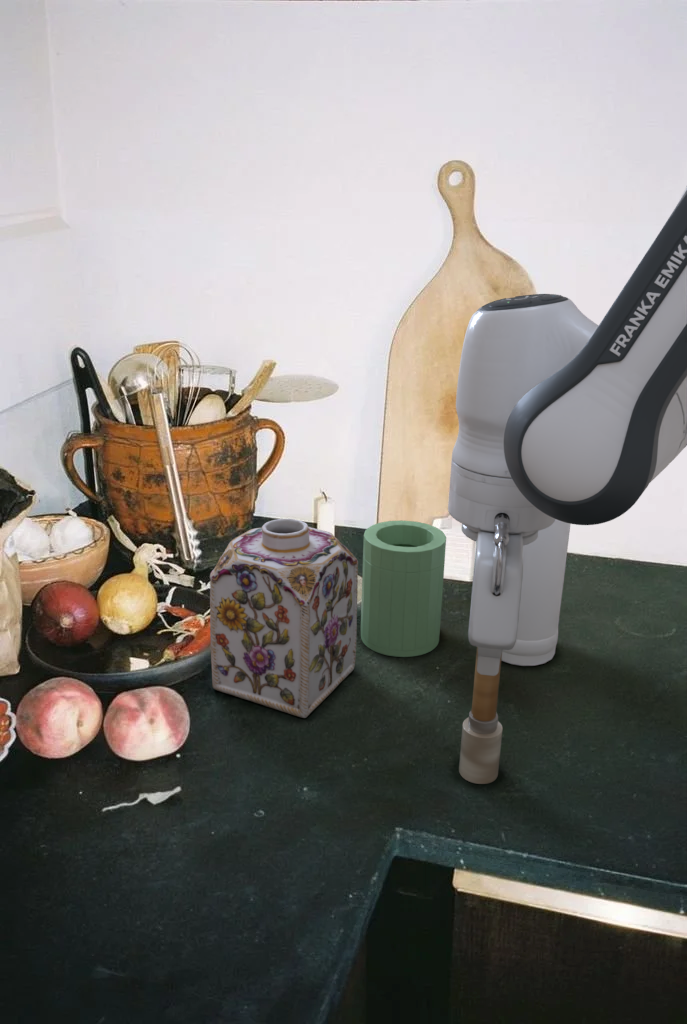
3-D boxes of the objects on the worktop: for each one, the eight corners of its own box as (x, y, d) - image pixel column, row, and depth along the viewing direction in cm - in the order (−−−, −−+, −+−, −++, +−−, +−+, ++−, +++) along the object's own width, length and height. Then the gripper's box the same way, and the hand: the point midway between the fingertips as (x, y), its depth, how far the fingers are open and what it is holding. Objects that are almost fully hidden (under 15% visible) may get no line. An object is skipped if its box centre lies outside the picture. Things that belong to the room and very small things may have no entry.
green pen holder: (441, 623, 114) (448, 524, 109) (435, 661, 105) (443, 555, 100) (366, 615, 115) (370, 517, 110) (355, 652, 107) (358, 547, 102)
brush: (498, 762, 88) (515, 587, 81) (497, 786, 85) (515, 606, 78) (459, 758, 88) (474, 583, 82) (457, 781, 85) (472, 602, 79)
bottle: (509, 672, 103) (536, 408, 92) (472, 640, 110) (493, 390, 99) (569, 659, 106) (602, 401, 95) (530, 628, 113) (556, 384, 102)
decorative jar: (305, 722, 93) (307, 557, 87) (208, 691, 98) (203, 533, 92) (358, 668, 103) (363, 516, 97) (268, 643, 108) (267, 496, 102)
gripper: (546, 547, 67) (527, 713, 72) (539, 460, 85) (524, 596, 91) (457, 539, 68) (444, 703, 73) (469, 455, 86) (458, 590, 91)
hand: (488, 643), depth 82 cm, fingers open, 8 cm apart
